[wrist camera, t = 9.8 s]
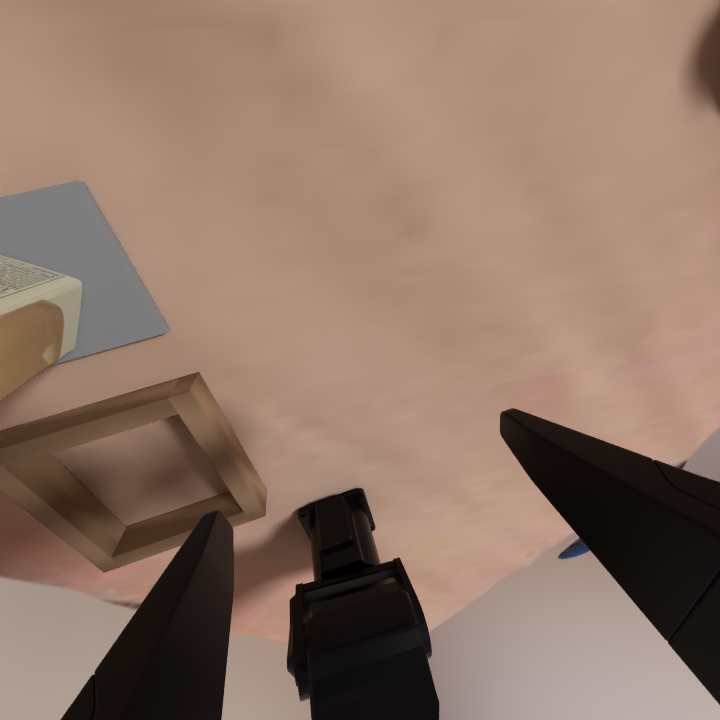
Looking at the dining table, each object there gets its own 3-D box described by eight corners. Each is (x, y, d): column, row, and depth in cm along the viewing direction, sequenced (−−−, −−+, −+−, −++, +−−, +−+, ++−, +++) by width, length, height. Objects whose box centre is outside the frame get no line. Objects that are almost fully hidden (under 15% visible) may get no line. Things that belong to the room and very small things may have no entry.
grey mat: (170, 329, 18) (166, 333, 18) (-41, 388, 17) (-51, 394, 17) (84, 181, 14) (76, 180, 14) (-197, 244, 13) (-216, 246, 13)
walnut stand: (266, 490, 26) (265, 515, 24) (119, 540, 25) (104, 572, 23) (199, 371, 20) (188, 391, 18) (-1, 431, 19) (-38, 460, 17)
